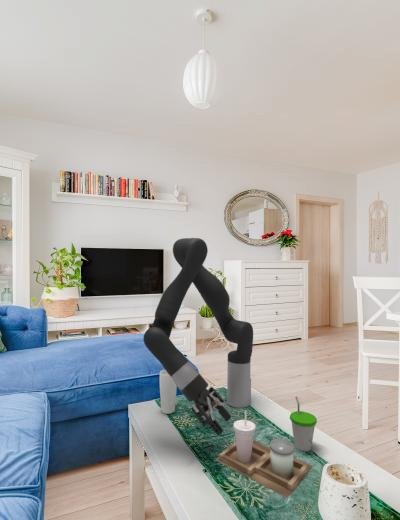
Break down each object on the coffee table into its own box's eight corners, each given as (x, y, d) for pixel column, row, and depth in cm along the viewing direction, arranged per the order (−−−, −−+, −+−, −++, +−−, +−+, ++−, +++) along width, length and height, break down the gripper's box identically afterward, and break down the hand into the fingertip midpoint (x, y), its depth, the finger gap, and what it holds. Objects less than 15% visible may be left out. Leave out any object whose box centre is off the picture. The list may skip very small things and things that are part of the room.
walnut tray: (245, 440, 104) (245, 432, 104) (313, 470, 90) (313, 460, 90) (215, 464, 92) (215, 454, 92) (287, 502, 78) (287, 491, 78)
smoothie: (240, 468, 89) (240, 417, 89) (228, 454, 95) (229, 407, 95) (259, 462, 91) (260, 412, 91) (247, 450, 97) (248, 403, 97)
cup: (316, 460, 94) (317, 409, 94) (289, 455, 97) (289, 405, 97) (315, 446, 102) (316, 398, 102) (289, 441, 104) (290, 395, 104)
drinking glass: (174, 416, 120) (174, 375, 120) (156, 414, 121) (157, 374, 121) (178, 408, 126) (179, 369, 126) (162, 406, 128) (162, 368, 128)
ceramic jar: (276, 461, 92) (276, 435, 92) (298, 470, 88) (298, 444, 88) (265, 472, 87) (265, 445, 87) (287, 483, 83) (287, 455, 83)
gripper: (188, 381, 91) (227, 430, 87) (205, 366, 105) (239, 408, 101) (171, 397, 93) (208, 446, 89) (189, 380, 106) (223, 422, 103)
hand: (225, 425), depth 95 cm, fingers open, 8 cm apart
